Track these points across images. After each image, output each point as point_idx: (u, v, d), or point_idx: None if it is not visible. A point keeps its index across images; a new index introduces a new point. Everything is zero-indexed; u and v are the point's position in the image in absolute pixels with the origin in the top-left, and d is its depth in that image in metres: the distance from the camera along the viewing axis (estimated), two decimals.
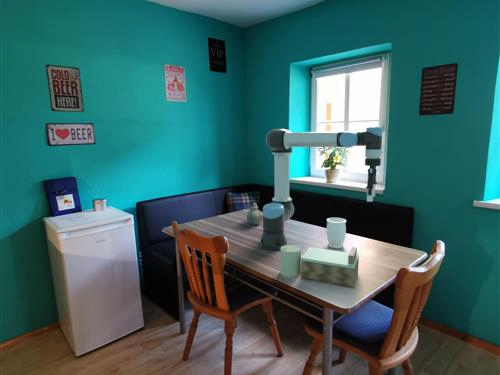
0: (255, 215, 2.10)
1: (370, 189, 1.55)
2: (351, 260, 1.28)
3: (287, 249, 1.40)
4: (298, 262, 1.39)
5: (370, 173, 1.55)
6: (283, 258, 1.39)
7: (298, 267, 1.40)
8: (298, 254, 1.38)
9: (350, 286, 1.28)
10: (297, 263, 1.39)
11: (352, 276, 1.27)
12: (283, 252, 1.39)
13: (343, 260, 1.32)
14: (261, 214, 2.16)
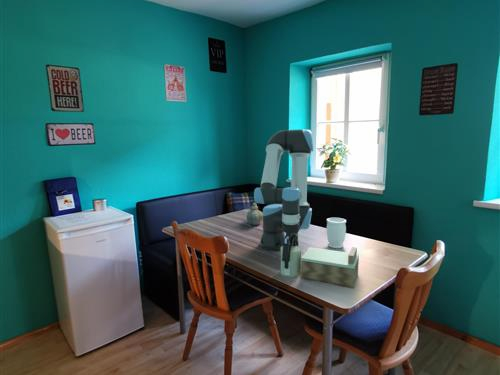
0: (255, 215, 2.10)
1: (286, 262, 1.36)
2: (351, 260, 1.28)
3: None
4: (298, 262, 1.39)
5: (285, 244, 1.35)
6: None
7: (298, 267, 1.40)
8: (298, 254, 1.38)
9: (350, 286, 1.28)
10: (297, 263, 1.39)
11: (352, 276, 1.27)
12: None
13: (343, 260, 1.32)
14: (261, 214, 2.16)
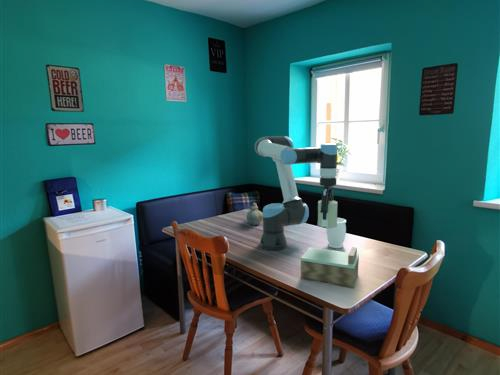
0: (255, 215, 2.10)
1: (324, 213, 1.45)
2: (351, 260, 1.28)
3: None
4: (335, 214, 1.47)
5: (324, 196, 1.43)
6: None
7: (335, 219, 1.48)
8: (335, 206, 1.47)
9: (350, 286, 1.28)
10: (334, 215, 1.47)
11: (352, 276, 1.27)
12: None
13: (343, 260, 1.32)
14: (261, 214, 2.16)
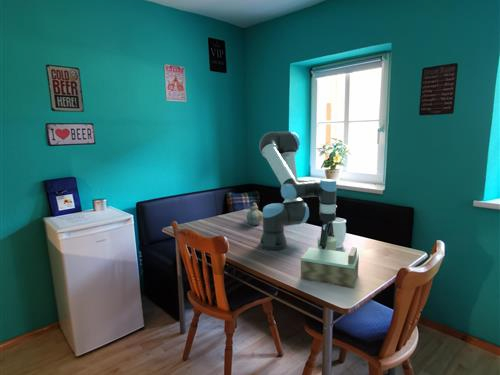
0: (255, 215, 2.10)
1: (323, 247, 1.46)
2: (351, 260, 1.28)
3: None
4: None
5: (323, 230, 1.46)
6: (320, 248, 1.51)
7: None
8: (334, 244, 1.50)
9: (350, 286, 1.28)
10: None
11: (352, 276, 1.27)
12: None
13: (343, 260, 1.32)
14: (261, 214, 2.16)
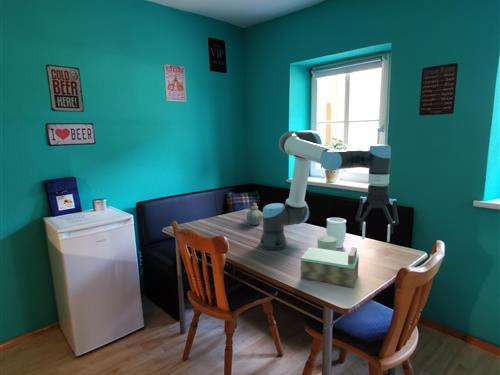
0: (255, 215, 2.10)
1: None
2: (351, 260, 1.28)
3: (324, 239, 1.52)
4: None
5: None
6: (320, 248, 1.51)
7: None
8: (334, 244, 1.50)
9: (350, 286, 1.28)
10: None
11: (352, 276, 1.27)
12: (320, 242, 1.50)
13: (343, 260, 1.32)
14: (261, 214, 2.16)
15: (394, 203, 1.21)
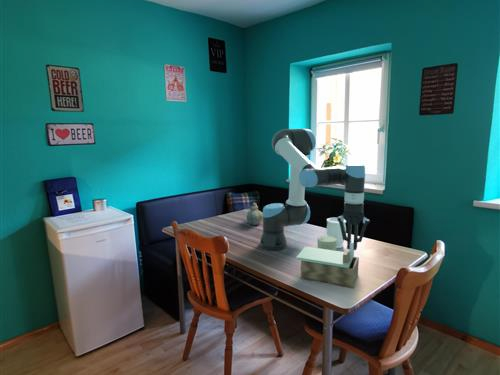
0: (255, 215, 2.10)
1: (347, 241, 1.32)
2: (346, 259, 1.29)
3: (324, 239, 1.52)
4: None
5: None
6: (320, 248, 1.51)
7: None
8: (334, 244, 1.50)
9: (350, 286, 1.28)
10: None
11: (352, 276, 1.27)
12: (320, 242, 1.50)
13: (338, 259, 1.33)
14: (261, 214, 2.16)
15: (366, 223, 1.27)
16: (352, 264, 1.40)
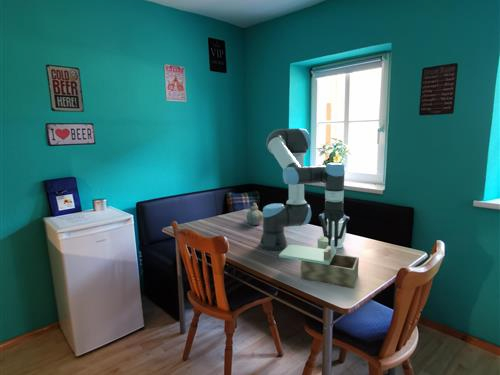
0: (255, 215, 2.10)
1: (328, 238, 1.36)
2: (326, 256, 1.32)
3: (324, 239, 1.52)
4: None
5: None
6: (320, 248, 1.51)
7: None
8: None
9: (350, 286, 1.28)
10: None
11: (352, 276, 1.27)
12: (320, 242, 1.50)
13: (319, 256, 1.36)
14: (261, 214, 2.16)
15: (346, 220, 1.30)
16: (352, 264, 1.40)
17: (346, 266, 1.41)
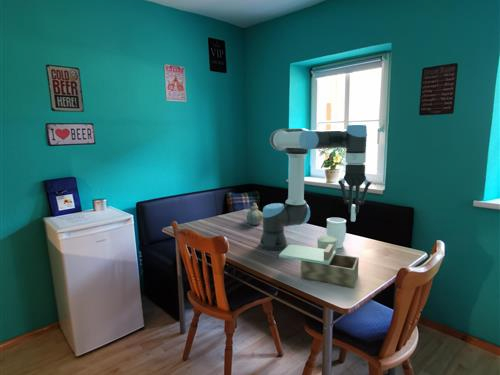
0: (255, 215, 2.10)
1: None
2: (326, 256, 1.32)
3: (324, 239, 1.52)
4: None
5: None
6: (320, 248, 1.51)
7: None
8: (334, 244, 1.50)
9: (350, 286, 1.28)
10: None
11: (352, 276, 1.27)
12: (320, 242, 1.50)
13: (319, 256, 1.36)
14: (261, 214, 2.16)
15: (368, 184, 1.24)
16: (352, 264, 1.40)
17: (346, 266, 1.41)
